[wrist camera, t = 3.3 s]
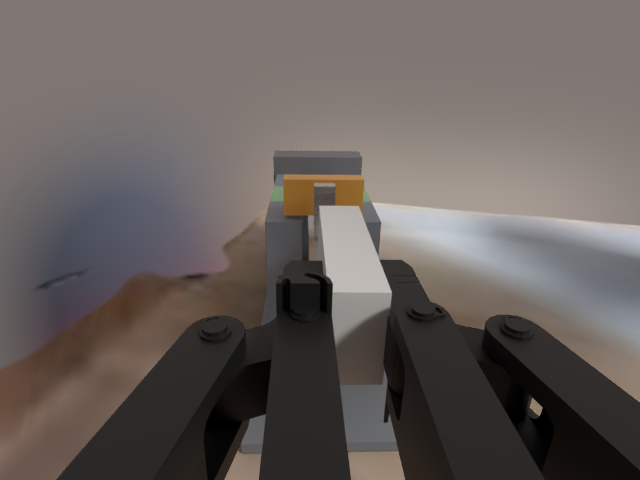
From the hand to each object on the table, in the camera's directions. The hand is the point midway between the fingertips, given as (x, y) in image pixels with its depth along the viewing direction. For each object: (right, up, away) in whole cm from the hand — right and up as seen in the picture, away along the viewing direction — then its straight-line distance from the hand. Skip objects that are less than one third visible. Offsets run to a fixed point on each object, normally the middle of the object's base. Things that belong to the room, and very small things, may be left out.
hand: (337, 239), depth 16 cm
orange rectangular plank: (0, +2, +19) cm, 19 cm away
